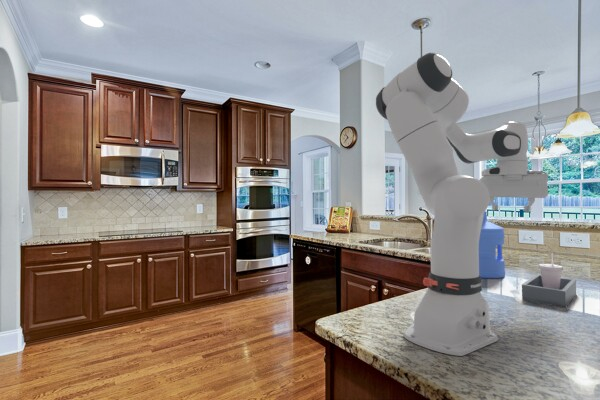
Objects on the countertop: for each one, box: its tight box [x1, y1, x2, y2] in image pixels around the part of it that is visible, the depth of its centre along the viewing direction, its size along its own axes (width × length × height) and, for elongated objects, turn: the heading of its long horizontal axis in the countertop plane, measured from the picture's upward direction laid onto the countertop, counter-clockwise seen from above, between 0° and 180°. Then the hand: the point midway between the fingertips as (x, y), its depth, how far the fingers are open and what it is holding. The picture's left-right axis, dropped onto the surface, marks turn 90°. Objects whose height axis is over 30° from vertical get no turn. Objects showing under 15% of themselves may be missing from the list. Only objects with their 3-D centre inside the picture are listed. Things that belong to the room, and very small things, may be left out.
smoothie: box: [538, 252, 564, 290], centre depth 105 cm, size 6×6×14 cm
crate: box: [521, 274, 577, 309], centre depth 105 cm, size 20×11×5 cm, turn 132°
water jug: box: [479, 211, 506, 279], centre depth 138 cm, size 16×16×28 cm
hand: (510, 210), depth 107 cm, fingers open, 8 cm apart
